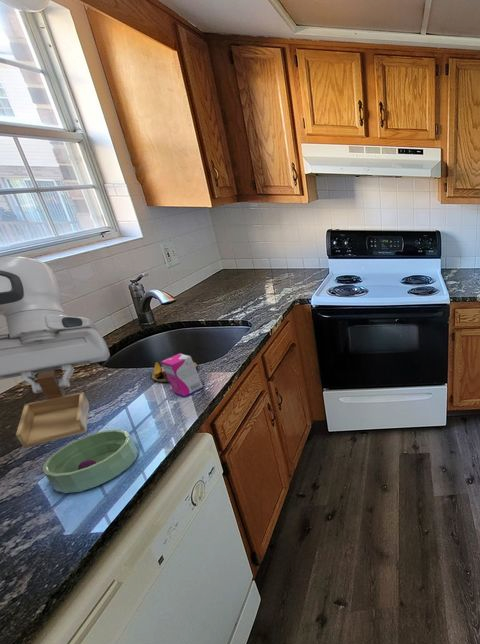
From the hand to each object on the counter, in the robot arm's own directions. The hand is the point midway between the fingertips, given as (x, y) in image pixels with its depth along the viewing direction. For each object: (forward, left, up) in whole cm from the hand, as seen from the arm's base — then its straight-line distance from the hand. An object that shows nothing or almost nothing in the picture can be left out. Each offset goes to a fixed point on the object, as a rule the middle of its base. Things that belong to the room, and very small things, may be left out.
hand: (52, 389), depth 78 cm
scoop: (0, -3, -6) cm, 7 cm away
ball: (+1, -6, -17) cm, 19 cm away
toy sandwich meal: (+14, +38, -20) cm, 45 cm away
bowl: (+2, -5, -20) cm, 20 cm away
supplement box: (+18, +23, -20) cm, 35 cm away
